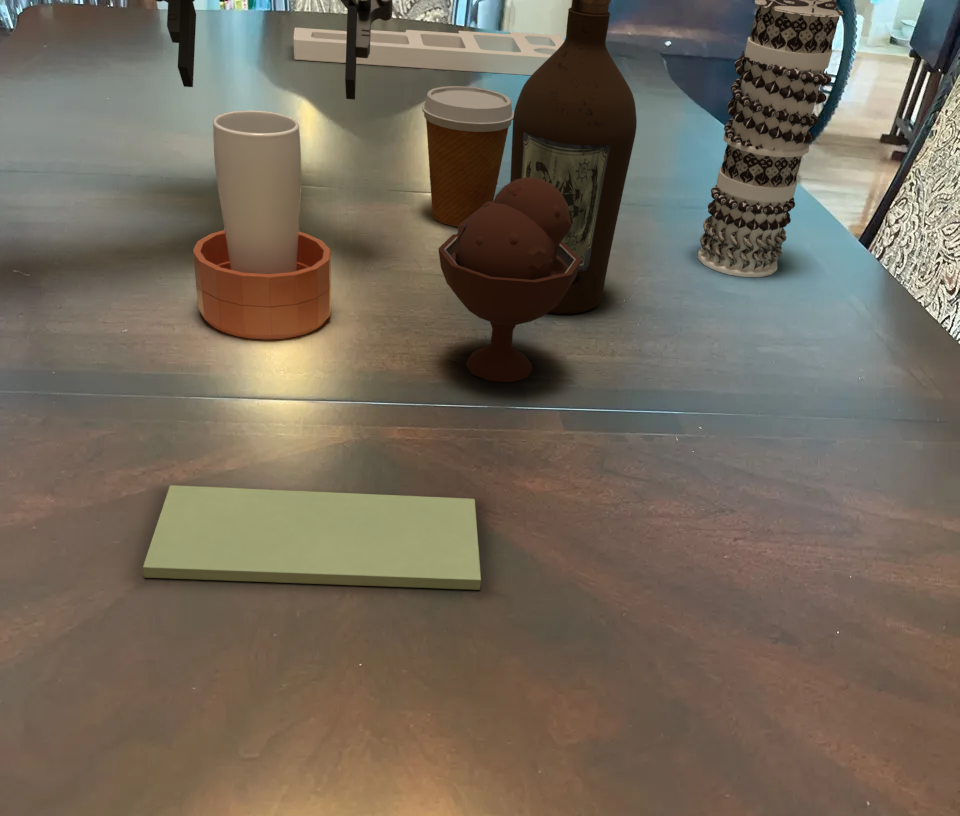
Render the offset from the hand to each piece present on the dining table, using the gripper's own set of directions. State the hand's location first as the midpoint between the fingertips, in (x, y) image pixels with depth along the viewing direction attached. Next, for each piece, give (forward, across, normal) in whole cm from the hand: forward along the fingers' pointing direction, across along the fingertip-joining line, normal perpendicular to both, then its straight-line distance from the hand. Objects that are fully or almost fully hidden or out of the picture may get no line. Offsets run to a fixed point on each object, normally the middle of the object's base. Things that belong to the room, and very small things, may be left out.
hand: (268, 84), depth 88 cm
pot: (+18, 0, +5) cm, 18 cm away
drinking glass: (+17, 0, +5) cm, 18 cm away
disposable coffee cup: (-2, +18, +25) cm, 31 cm away
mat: (+42, +7, -19) cm, 46 cm away
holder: (-56, +16, +80) cm, 99 cm away
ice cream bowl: (+24, +20, 0) cm, 31 cm away
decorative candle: (+4, +47, +20) cm, 51 cm away
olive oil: (+12, +26, +11) cm, 31 cm away
